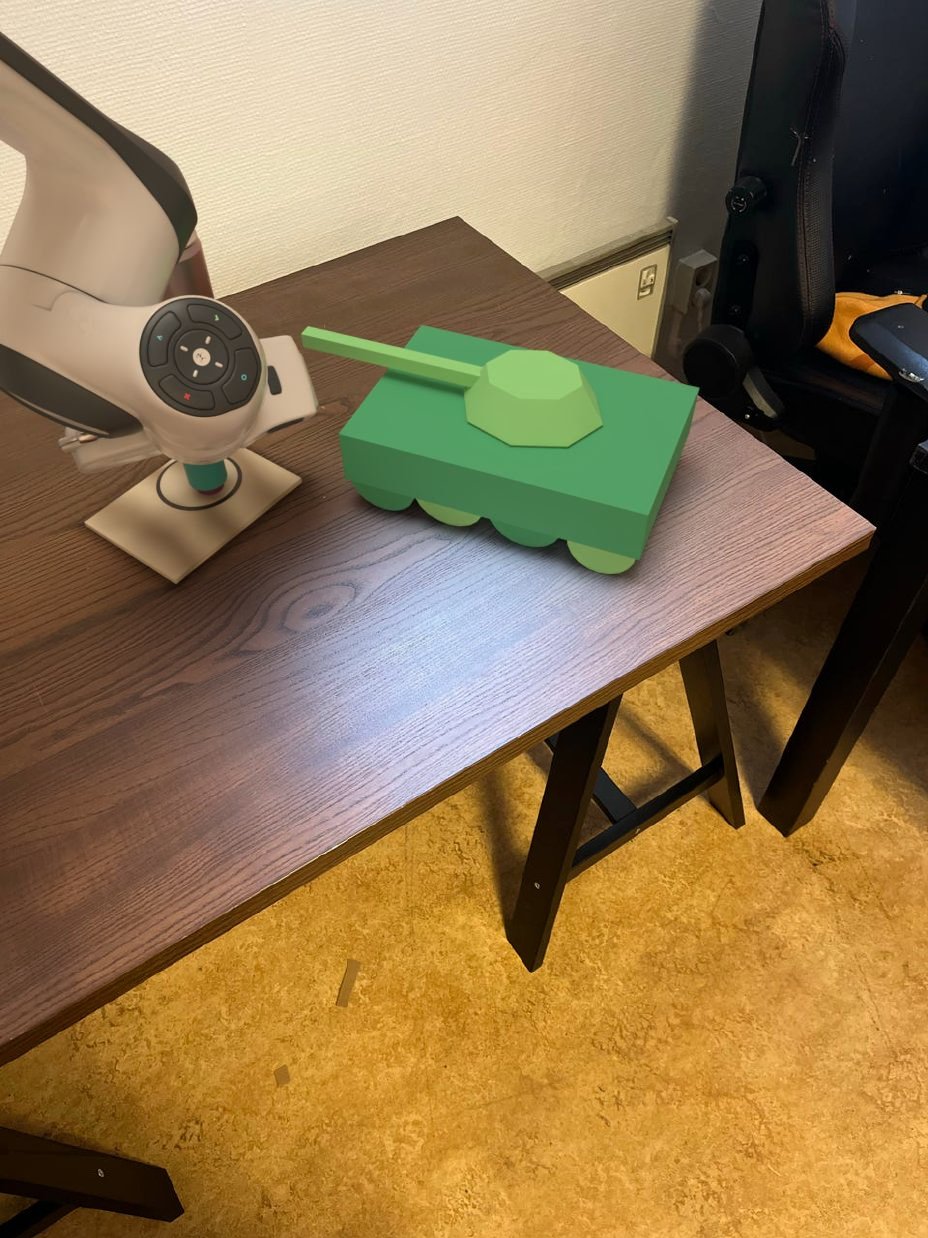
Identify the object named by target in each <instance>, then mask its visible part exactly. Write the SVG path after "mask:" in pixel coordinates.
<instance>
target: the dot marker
mask: <svg viewBox="0 0 928 1238" xmlns="http://www.w3.org/2000/svg"><path fill="white" fill-rule="evenodd" d="M183 466H184V469H185V472H186V476H187V479H188V482H189V484H190V486H191V487H193V488H194V489H196V490H197V491H198V492H199V493H201V494H203V495H213V494H216V493H218V492H220V491H221V490H222V489H223V487H224V483H225V481H226V480H227V476H228V474H227V470H226V466H225V463H224V460H222V461H219V462H216V463H212V464H206V465H192V464H186V463H183Z"/></svg>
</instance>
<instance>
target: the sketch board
mask: <svg viewBox="0 0 928 1238" xmlns="http://www.w3.org/2000/svg"><path fill="white" fill-rule="evenodd" d="M224 463H225V466H226V470H227V474H228V476H227V480H226V481H225V483H224V487H223V489H222V490H221V491H220V492H218V493H216V494H213V495H203V494H201V493H199V492H198V491H197V490H196V489H194V488H193V487H191V486H190V484H189V482H188V479H187V476H186V472H185V469H184V466H183V463H182V462H179V461H176V460H174V459H172V458H171V459H170V460H169V461H168V462H166V463H164V464H163V465H162V466H160V467H159V468H158V469H156V470H154V472H152V473H151V474H149V475H148V476H147V477H145V478H144V479H142V480H141V481H140V482H138V483H137V484H135V485H134V486H132V487H131V488H129V490H127V491H126V492H124V493H123V494H122V495H120V496H119V497H117V498H116V499H114V500H113V501H112V502H110V503H109V504H107V505H106V506H105V507H103V508H101V510H99V511H98V512H96V513H95V514H93V515H92V516H91V517H89V518H88V519H86V520H85V521H84V522H83V523H84V525H85V527H86V528H87V529H89V530H90V531H92V532H94V533H95V534H97V535H99V536H100V537H102V538H103V539H104V540H107V542H109V543H111V544H112V545H114V546H115V547H117V548H119V549H120V550H122V551H123V552H125V553H127V554H128V555H130V556H131V557H133V558H135V559H136V560H138V561H139V562H141V563H142V564H144V565H145V566H146V567H149V569H150V568H151V569H152V570H153V571H155V572H156V573H158V574H160V575H161V576H163V577H164V578H165V579H167V580H169V581H170V582H172V583H173V584H175V585H177V584H178V583H179V582H181V581H182V580H183V579H184V578H185V577H187V576H188V575H190V574H191V573H192V572H193V571H194V570H195V569H197V568H198V567H199V566H200V565H202V564H203V563H204V562H206V561H207V560H208V559H210V557H211V556H213V555H214V554H216V553H217V552H218V551H219V550H220V549H221V548H222V547H224V546H225V545H226V544H228V543H229V542H230V541H231V540H233V539H234V538H235V537H236V536H238V535H239V534H240V533H241V532H242V531H244V530H245V529H246V528H248V527H249V526H250V525H251V524H253V523H254V522H255V521H256V520H258V519H259V518H261V516H262V515H263V514H265V513H266V512H268V511H269V510H270V509H271V508H272V507H274V506H275V505H276V504H277V503H279V502H280V501H281V500H282V499H283V498H285V497H287V495H288V494H290V493H291V492H292V491H293V490H295V489H296V488H297V487H298V486H300V485H301V484H302V483H303V480H302V477H300V476H298V475H297V474H295V473H293V472H291V471H289V470H288V469H285V468H284V467H281V466H280V465H278V464H277V463H274V462H273V461H271V460H269V459H267V458H265V457H263V456H261V455H259V454H257V453H256V452H254V451H252V450H250V449H248V448H247V447H246V448H243V449H241V448H240V449H239V450H238V451H236V452H235V453H234V454H233V455H231V456H230V457H228V458H226V459H224Z"/></svg>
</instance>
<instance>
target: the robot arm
mask: <svg viewBox="0 0 928 1238" xmlns="http://www.w3.org/2000/svg"><path fill="white" fill-rule="evenodd" d="M0 141H1V142H3V143H4V144H6V145H8V146H9V147H10V148H12V149H14V150H15V151H16V152H18V153H19V154H21V155H22V156H24V159H25V168H26V169H25V182H24V187H23V194H22V197H21V200H20V203H19V205H18V208H17V211H16V213H15V216H14V218H13V221H12V223H11V226H10V229H9V231H8V234H7V237H6V239H5V242H4V244H3V247H2V249H1V252H0V391H1V392H2V393H4V394H5V395H6V396H8V397H9V398H11V399H12V400H14V401H15V402H17V403H18V404H20V405H21V406H23V407H25V408H26V409H28V410H30V411H32V412H33V413H36V414H38V415H39V416H41V417H43V418H46V419H48V420H50V421H52V422H54V423H57V424H59V425H61V426H64V427H65V429H64V437H61V438H59V439H58V448H59V449H61V451H62V452H63V453H64V454H71V455H72V458H73V461H74V463H75V465H76V468H77V471H78V472H79V474H81V475H92V474H97V473H101V472H105V471H108V470H111V469H115V468H118V467H119V468H120V467H122V466H126V465H129V464H132V463H135V462H139V461H142V460H146V459H150V458H153V457H156V456H160V455H164V456H166V457H168V458H170V459H171V460H172V459H174V460H176V461H179V462H182V463H186V464H192V465H206V464H212V463H216V462H219V461H222V460H224V459H226V458H228V457H230V456H231V455H233V454H234V453H235V452H236V451H238V450H239V449H240V448H241V449H243V448H246V449H247V447H249V446H250V445H252V444H253V443H255V442H256V441H258V440H259V439H261V438H263V437H264V436H266V435H271V434H273V433H275V432H277V431H280V430H284V429H286V428H288V427H291V426H293V425H296V424H299V423H302V422H303V421H307V420H309V419H311V418H313V417H314V416H315V415H316V414H317V412H318V408H319V407H320V403H319V399H318V396H317V393H316V390H315V388H314V384H313V381H312V377H311V375H310V371H309V369H308V366H307V364H306V361H305V358H304V356H303V354H302V353H301V352H300V351H299V349H298V346H297V344H296V342H295V341H294V338H293V337H292V336H291V335H286V334H284V335H278V336H274V335H273V336H267V337H259V336H258V335H257V334H256V332H255V330H254V329H253V328H252V326H251V325H250V324H249V322H248V321H246V319H244V317H243V316H242V315H241V314H239V312H238V311H236V310H235V309H233V308H232V307H231V306H229V305H227V304H226V303H224V302H221V301H220V300H218V299H212V298H209V297H205V296H197V295H185V296H178V297H174V298H171V299H168V300H166V301H163V302H162V299H163V296H164V294H165V291H166V288H167V286H168V283H169V280H170V278H171V275H172V272H173V270H174V267H175V266H176V265H177V264H178V262H179V260H180V258H181V256H182V254H183V252H184V250H185V247H186V245H187V243H188V241H189V239H190V237H191V235H192V233H193V231H194V229H195V230H196V227H197V225H198V219H199V217H198V212H197V208H196V204H195V201H194V198H193V196H192V193H191V190H190V187H189V185H188V182H187V181H186V178H185V176H184V174H183V172H182V171H181V168H180V167H179V165H178V164H177V163H176V162H175V161H174V160H173V159H172V158H171V157H170V156H169V155H167V154H166V153H165V152H163V151H162V150H161V149H159V148H158V147H156V146H155V145H154V144H152V143H151V142H149V141H147V140H145V139H144V138H143V137H141V136H140V135H138V134H136V133H134V132H133V131H132V130H130V129H128V128H126V127H125V126H123V125H122V124H120V123H118V122H117V121H116V120H113V118H111V117H109V116H108V115H107V114H106V113H104V112H103V111H101V110H100V109H99V108H97V107H96V106H95V105H93V104H92V103H91V101H89V100H87V99H86V98H85V97H84V96H82V95H81V94H80V93H79V92H78V91H76V90H75V89H74V88H72V87H71V86H70V85H68V84H67V83H66V82H65V81H64V80H62V79H61V78H60V77H58V76H57V75H56V74H55V73H53V72H52V71H51V70H50V69H48V67H46V66H45V65H43V64H42V63H41V62H39V61H38V60H37V59H36V58H35V57H33V56H32V54H30V53H29V52H27V51H26V50H25V49H23V48H22V47H21V46H20V45H18V44H17V43H16V42H15V41H14V40H13V39H11V38H10V37H8V36H7V35H6V34H5V33H3V32H2V31H0Z"/></svg>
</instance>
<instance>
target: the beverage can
mask: <svg viewBox="0 0 928 1238" xmlns="http://www.w3.org/2000/svg"><path fill="white" fill-rule="evenodd" d="M185 295H197V296H205V297H209V298H212V299H215V294H214V290H213V286H212V282H211V278H210V274H209V269H208V265H207V261H206V257H205V253H204V248H203V244H202V241H201V239H200V238H199V236H198V232H197V230H196V228H195V229H194V231H193V233H192V235H191V237H190V239H189V241H188V243H187V245H186V247H185V250H184V252H183V254H182V256H181V258H180V260H179V262H178V264H177V265H176V266H175V267H174V270H173V272H172V275H171V278H170V280H169V283H168V286H167V288H166V291H165V294H164V296H163V299H162V302H163V301H166V300H168V299H171V298H174V297H178V296H185ZM215 300H216V299H215Z"/></svg>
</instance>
